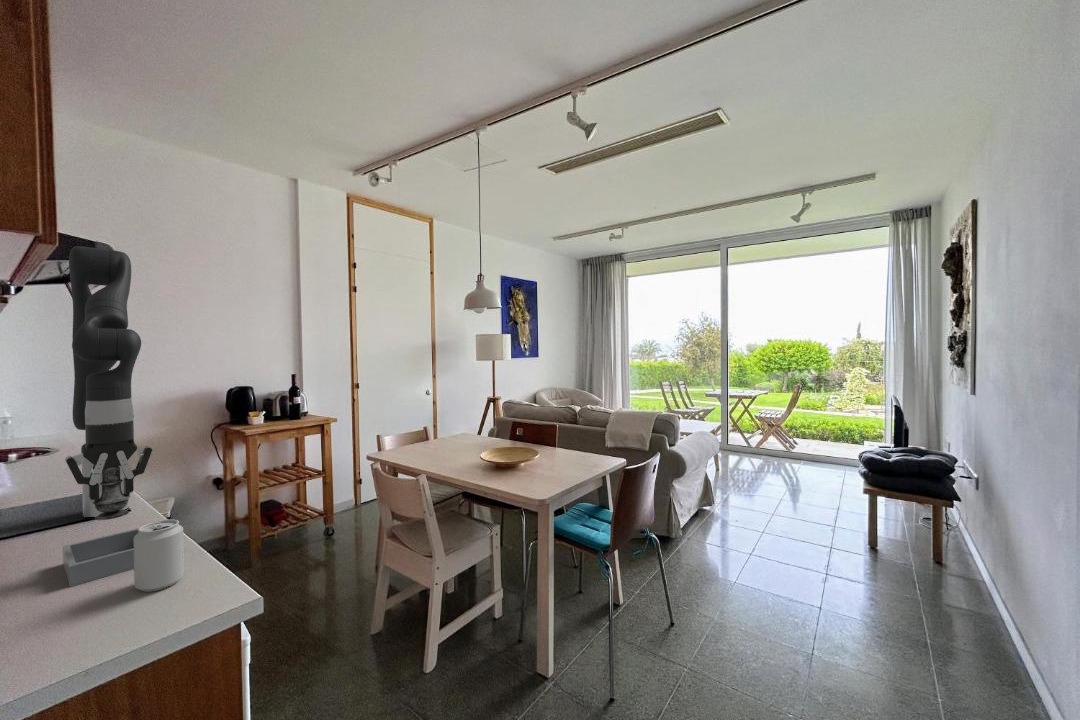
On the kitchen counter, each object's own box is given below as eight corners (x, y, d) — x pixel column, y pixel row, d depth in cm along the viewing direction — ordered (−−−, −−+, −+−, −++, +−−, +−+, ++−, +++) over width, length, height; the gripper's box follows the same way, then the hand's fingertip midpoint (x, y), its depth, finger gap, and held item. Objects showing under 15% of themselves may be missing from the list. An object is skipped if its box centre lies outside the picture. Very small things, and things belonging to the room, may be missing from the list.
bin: (63, 564, 95) (62, 546, 95) (148, 542, 106) (148, 525, 106) (69, 586, 86) (69, 566, 86) (162, 560, 97) (161, 542, 97)
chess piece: (107, 521, 93) (105, 465, 92) (85, 519, 94) (84, 463, 93) (137, 511, 98) (136, 458, 98) (117, 509, 100) (115, 456, 99)
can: (142, 598, 83) (141, 535, 82) (128, 586, 87) (127, 526, 86) (190, 580, 89) (189, 522, 89) (175, 570, 93) (174, 514, 93)
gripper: (149, 414, 103) (150, 486, 104) (59, 422, 92) (62, 503, 93) (156, 418, 99) (158, 493, 99) (63, 426, 88) (65, 511, 88)
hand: (111, 497), depth 96 cm, fingers closed on chess piece, 4 cm apart
